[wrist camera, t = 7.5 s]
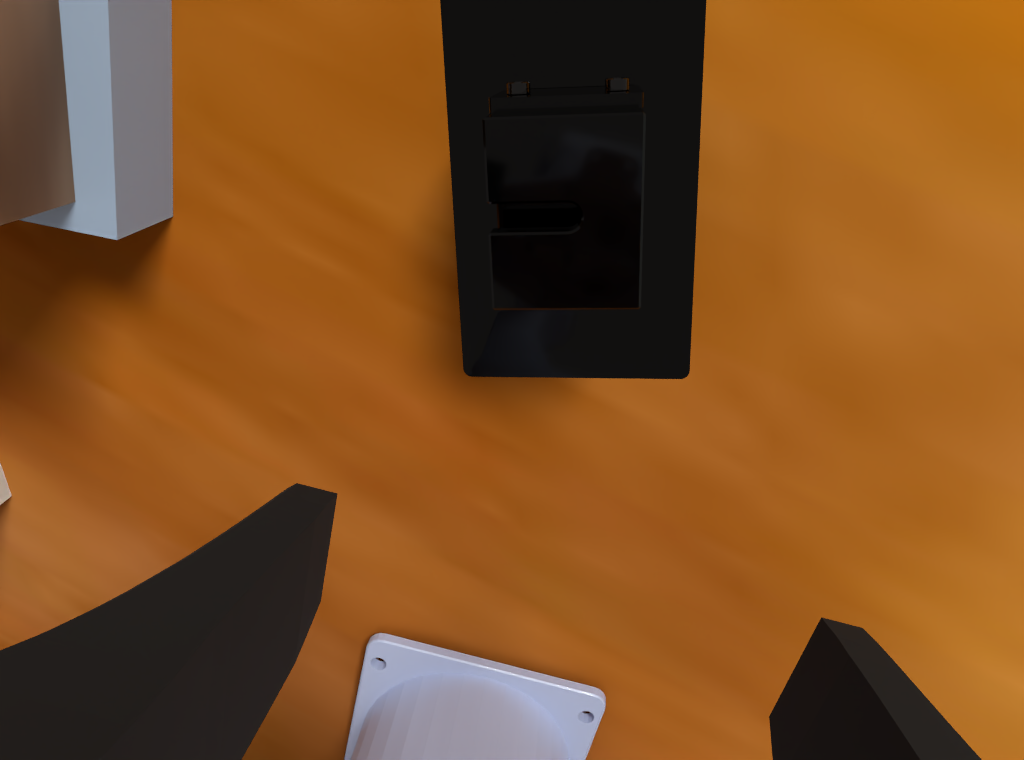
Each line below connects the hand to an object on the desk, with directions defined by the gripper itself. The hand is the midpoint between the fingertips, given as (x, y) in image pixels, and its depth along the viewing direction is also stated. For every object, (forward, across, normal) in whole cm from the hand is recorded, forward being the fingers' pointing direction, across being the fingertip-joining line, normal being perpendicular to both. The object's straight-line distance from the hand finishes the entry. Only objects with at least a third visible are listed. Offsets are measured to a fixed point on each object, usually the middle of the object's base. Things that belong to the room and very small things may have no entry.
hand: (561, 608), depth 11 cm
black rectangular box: (+11, +1, -4) cm, 12 cm away
